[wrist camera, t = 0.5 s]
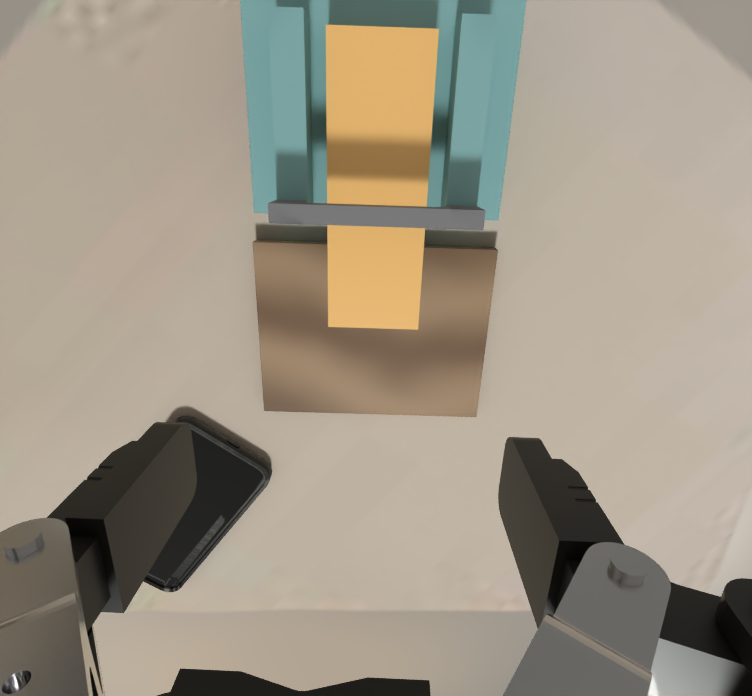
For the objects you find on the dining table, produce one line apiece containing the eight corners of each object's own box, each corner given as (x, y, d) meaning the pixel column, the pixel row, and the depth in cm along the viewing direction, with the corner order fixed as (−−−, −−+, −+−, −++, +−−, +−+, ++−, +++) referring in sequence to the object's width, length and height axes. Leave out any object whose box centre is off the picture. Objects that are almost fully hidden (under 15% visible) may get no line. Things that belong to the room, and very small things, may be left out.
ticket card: (328, 31, 20) (325, 24, 19) (435, 35, 20) (439, 28, 19) (330, 319, 25) (328, 327, 24) (416, 322, 25) (418, 329, 24)
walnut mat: (256, 239, 27) (252, 242, 27) (494, 247, 27) (498, 250, 27) (266, 404, 31) (264, 410, 31) (473, 411, 32) (476, 417, 31)
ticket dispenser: (260, -9, 23) (207, -83, 16) (505, 0, 23) (562, -70, 16) (271, 204, 27) (233, 222, 20) (481, 211, 27) (518, 231, 20)
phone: (82, 550, 36) (177, 416, 31) (91, 539, 37) (184, 407, 32) (174, 597, 37) (277, 476, 33) (180, 585, 38) (280, 466, 34)
